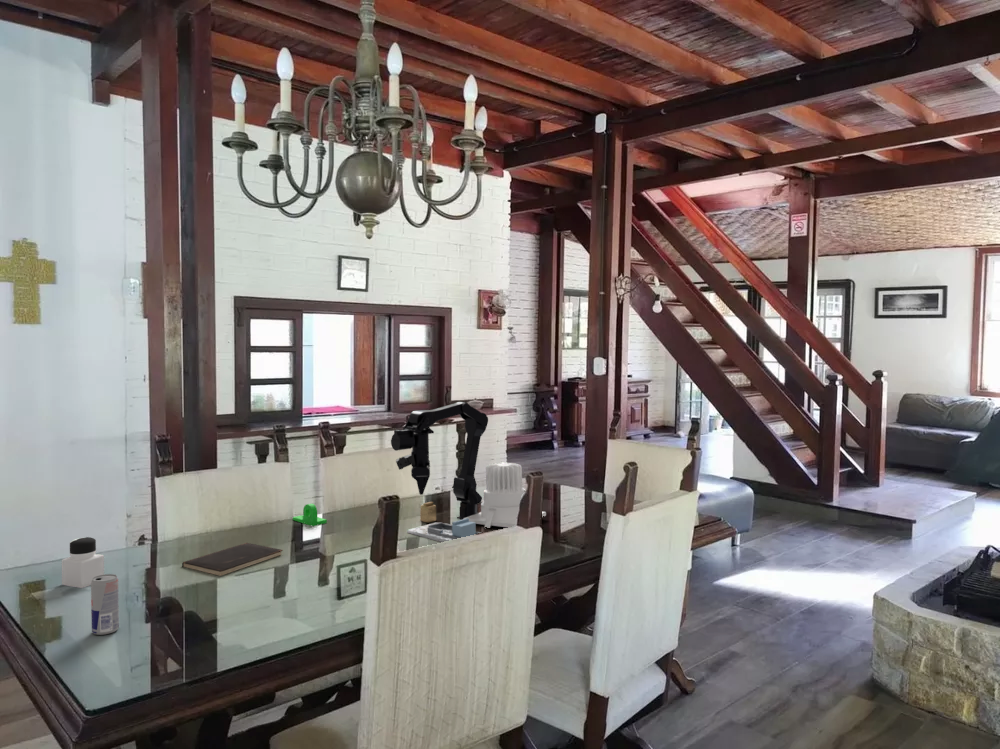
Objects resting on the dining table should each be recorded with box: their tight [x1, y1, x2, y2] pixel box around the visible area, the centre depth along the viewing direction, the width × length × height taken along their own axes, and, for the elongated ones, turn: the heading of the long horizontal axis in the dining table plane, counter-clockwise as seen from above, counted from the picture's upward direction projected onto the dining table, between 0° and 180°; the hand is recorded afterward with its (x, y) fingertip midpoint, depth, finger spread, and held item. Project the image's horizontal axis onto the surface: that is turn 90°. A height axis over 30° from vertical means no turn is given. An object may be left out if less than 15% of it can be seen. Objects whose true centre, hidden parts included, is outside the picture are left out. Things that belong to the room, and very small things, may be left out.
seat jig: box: [406, 521, 481, 543], centre depth 245 cm, size 14×22×3 cm, turn 50°
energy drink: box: [90, 573, 120, 636], centre depth 162 cm, size 5×5×12 cm
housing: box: [451, 518, 477, 537], centre depth 239 cm, size 7×4×5 cm, turn 140°
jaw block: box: [419, 501, 437, 524], centre depth 262 cm, size 4×4×7 cm
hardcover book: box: [181, 542, 284, 577], centre depth 214 cm, size 16×23×2 cm
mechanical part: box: [292, 503, 328, 527], centre depth 259 cm, size 12×6×8 cm, turn 49°
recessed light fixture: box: [463, 461, 547, 528], centre depth 263 cm, size 25×22×21 cm
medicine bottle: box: [61, 536, 105, 589], centre depth 193 cm, size 7×7×12 cm
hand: (421, 491), depth 253 cm, fingers open, 9 cm apart
